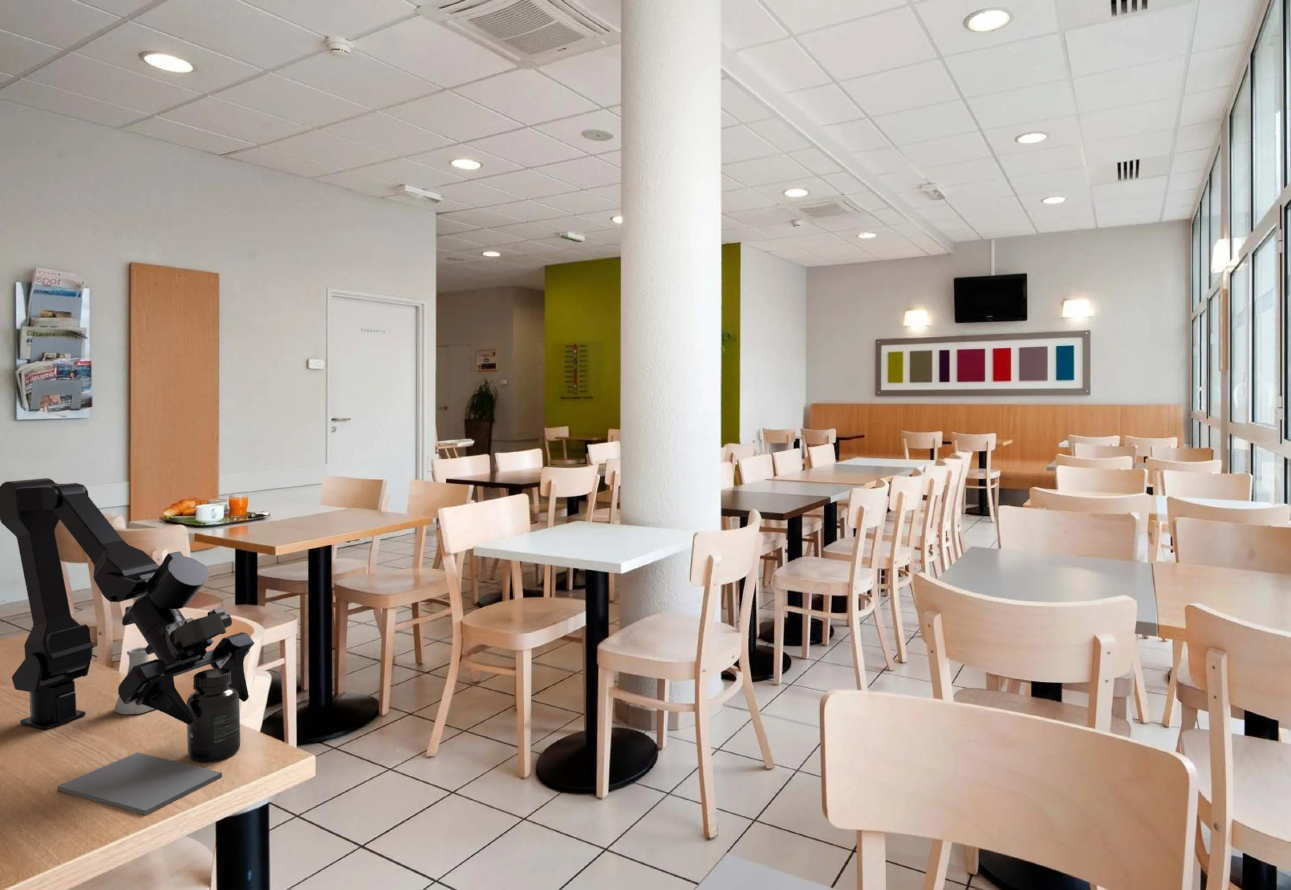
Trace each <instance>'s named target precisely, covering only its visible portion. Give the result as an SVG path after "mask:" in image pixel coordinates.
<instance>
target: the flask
mask: <svg viewBox="0 0 1291 890" xmlns="http://www.w3.org/2000/svg"><path fill="white" fill-rule="evenodd" d="M146 647H147V646H144V647H143V646H140V647H136V648H130V649H129V650H127V651H126V654H127V656H128V661H129V664H128V667H127V668H128V669H127V672H126V673H127V674H128V673H129V672H130V670H131V669H132V668H133V667H134V666H136V665H139V664H142V663H146V662H149V661H150V656H149V655H150V654H149V655H148V654H147V653H146V651H145V648H146ZM127 674H126V675H127ZM135 702H136V701H134V702H132V703H129V704H124V702H123V701H122V699H121V698H120V696H119V695H118V698H117V700H116V703H115V705H114V708H113V712H115V713H117V714H121V715H137V714H138V715H139V714H144V713H147V712H151V711H153V710H155V709H153V708H151V707H148V706H146V705H138V706H137V705H136V704H135Z"/></svg>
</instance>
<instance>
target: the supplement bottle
mask: <svg viewBox="0 0 1291 890" xmlns="http://www.w3.org/2000/svg"><path fill="white" fill-rule="evenodd" d="M231 683H232V679H231V671H230V670H229V669H225V668H216V669H213V668H210V669H205V670H201V671H199V672H197V673H196V672H195V674H194V675H193V685H192V690H194V691H193V692H192V693H191V694H190V695H189V696H188V698H187V699H186V702H185V704H186V705H187V707H188V708H189V710H190V712H191V714H192V716H193V718H194V721H193V722H192V723H191V724H189V725H188V724H186V734H187V735H186V736H187V737H186V739H187V741H186V742H187V757H188V759H189V760H191V761H192V762H195V763H201V764H202V763H205V764H206V763H214V762H218V761H222V760H225V759H228V758H231V757H232V756H234V755H235V754H236V753H238V751H239V749H240V748H241V720H240V719H241V717H240V716H241V715H240V711H241V710H240V699H239V693H238V691H237V690H236V689H235V688H234V687H232V686H230V684H231ZM227 757H228V758H227Z"/></svg>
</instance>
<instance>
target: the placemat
mask: <svg viewBox="0 0 1291 890" xmlns="http://www.w3.org/2000/svg"><path fill="white" fill-rule="evenodd" d="M220 778H223V772H221V771H217V770H213V769H209V768H204V767H200V766H197V765H192V764H188V763H184V762H179V761H175V760H171V759H167V758H162V757H158V756H156V755H154V756H153V755H150V754H146V753H141V752H139V751H137V752H134V753H132V754H129V755H127V756H125V757H123V758H120V759H118V760H116V761H113V762H111V763H108V764H106V765H105V766H104V765H103V766H101V767H99V768H97V769H94V770H92V771H89V772H88V773H85V774H83V775H80V776H78V777H75V778H72V779H71V780H68V781H66V782H64V783H61V784H59V785H57V787H56V788H57V791H59V792H61V793H62V792H63V793H66V794H69V795H71V796H72V795H73V796H76V797H80V798H83V799H87V800H90V801H94V802H98V803H101V804H105V805H109V806H112V807H114V808H119V809H122V810H126V811H130V812H134V813H137V814H139V815H140V814H141V815H144V816H147V815H149V814H151V813H153V812H155V811H158V810H159V809H161V808H163V807H165V806H167V805H168V804H169V805H170V804H171V803H173V802H175V801H177V800H179V799H181V798H183V797H185V796H187V795H189V794H191V793H193V792H195V791H197V790H198V789H201V788H202V787H205V786H206V785H208V784H211V783H212V782H215V781H216V780H218V779H219V780H220Z"/></svg>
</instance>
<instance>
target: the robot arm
mask: <svg viewBox="0 0 1291 890" xmlns="http://www.w3.org/2000/svg"><path fill="white" fill-rule="evenodd" d="M59 522H61V523H62V524H63V526H64V527H65V528H66V529H67V531H68V532H69V533H70V535H71V536H72V537H73V538H74V540H75V542H77V544H78V545H79V547H80V548H81V549H82V550H83V551H84V552H85V554H86V555H87V557H88V558H89V560H90V561H91V563H92V564H93V566H94V567H93V568H94V569H93V580H94V582H95V584H96V586H97V587H98V590H99V591H100V593H101V594H102V596H103V598H104V599H106V600H107V601H108V602H110V603H120V602H125V601H130V600H134V599H136V600H135V601H134V602H133V604H132V605H130V606H126V607H125V608H124V615H123V617H122V619H121V620H122V621H121V624H122V626H125V627H126V626H128V625H133V624H135V625H136V627H137V629H138V630H139V632H140V633H141V636H143V638H144V640H145V641H146V643H147V646H145V647H146V648H145V651H146V653H147V654H148V655H153V654H154V656H155V657H156V659H151V660H149V662H146V663H142V664H139V665H136V666H134V667H133V668H132V669H131V670H130V672H129V673H128V672H127V673H128V674H126V676H125V677H124V678H123V679H122V681H121V682H120V683H119V685H118V689H117V693H118V697H119V696H120V698H121V699H122V701H123V702H124V704H129V703H132V702H134V701H136V702H135V704H136V705H137V706H138V705H146V706H148V707H151V708H153V709H154V710H157V711H159V712H162V713H163V714H166V715H168V716H170V717H171V718H174V719H176V720H177V721H180V722H182V723H184V724H186V725H187V724H188V725H189V724H191V723H192V722H193V721H194V718H193V716H192V714H191V712H190V710H189V708H188V707H187V705H186V702H185V701H184V698H182V696H181V694H180V693H179V692H178V691H179V690H177V688H176V687H175V685H176V684H175V679H174V677H177V676H180V675H183V674H186V673H188V672H191V671H195V670H197V669H200V668H202V667H206V666H209V665H210V666H211V669H216V668H225V669H229V670H230V671H231V679H232V683H231V684H230V686H232V687H234V688H235V689H236V690H237V691H238V693H239V700H240V701H242V702H243V703H245V702H247V701H248V700H249V698H250V696H249V690H248V686H247V680H246V675H245V669H244V666H245V665H244V664H245V663H244V662H245V657H246V656H247V655H248V654H249V653H250V649H251V648H252V647H253V646H255V645H254V644H255V642H254V640H253V638H252V637H251V636H250V634H249V633H248V632H241V631H240V632H238V633H234V634H231V635H228V636H225V637H222V638H221V640H220V641H219V643H218V644H217V645H216V646H215V647H214V649H211V650H208V651H207V648H208V647H211V645H212V644H213V643H214V640H213V638H216V637H217V636H219V635H224V634H226V633H227V631H226V629H227V628H229V627H230V626H232V624H233V619H232V617H231V614H230V612H229V611H227V609H226V608H225V607H224V606H220V607H217V608H214V609H212V610H210V611H208V612H207V615H206V616H203V617H199V618H195V619H194V618H193V617H190V618H185V615H184V614H182V612H181V610H182V609H184V608H185V607H187V606H188V605H189V603H190V602H191V601H192V600H193V599H194V598H195V596H196V595H197V594H198V593H199V591H200V590H201V588H202V587H203V586H204V585H205V584H206V582H208V579H209V576H210V575H209V569H208V567H207V566H206V565H205V564H204V563H202V562H200V561H199V560H197V559H195V558H193V557H190V556H184V555H183V553H182V552H181V551H179V550H178V551H175V552H169V553H167V555H166V556H165V557H164V559H163V561H162V563H161V564H160V565H159V564H158V563H157V562H156V561H155V560H154V559H153V558H152V557H151V556H150V555H149V554H147V552H145V551H144V550H142V549H139V548H137V547H135V546H132V545H130V544H128V543H127V542H126V541H125V540H124V539H123V538H122V536H121V535H120V534H119V533H118V532H117V530H116V529H115V528H114V527H113V526H112V524H111V523H110V521H109V520H108V519H107V517H105V515H104V514H103V512H101V510H100V509H99V508H98V506H97V505H96V504H95V503H94V502H93V500H92V499H91V498H90V496H89V491H88V489H87V486H85V484H81V483H77V482H70V483H58V482H57V483H56V482H55V481H54V480H53V479H51V478H47V477H46V478H45V477H44V478H34V479H23V480H21V479H20V480H11V481H10V480H9V481H4V482H3V483H2V484H1V485H0V523H1V524H2V525H3V526H4V527H5V528H6V529H7V530H9V532H11V533H12V534H13V535H14V536H15V537H16V541H17V545H18V551H19V555H20V562H21V566H22V572H23V577H24V583H25V588H26V593H27V598H28V604H29V608H30V613H31V614H30V615H31V619H32V627H31V629H30V632H29V634H28V636H27V638H26V640H25V643H24V645H23V646H24V657H25V658H24V660H23V661H22V662H21V664H20V665H19V667H18V668H17V669H16V670H15V672H14V673H13V674H12V676H11V680H12V683H13V687H14V690H18V691H22V692H29V708H30V709H29V711H30V712H29V713H30V716H29V717H26V718H22V719H21V720H20V721H19V723H20V725H21V724H22V725H25V726H29V727H34V728H37V729H42V730H48V729H51V728H52V727H55V726H59V725H61V724H64V723H67V722H69V721H72V720H76V719H79V718H81V717H83V716H85V715H87V713H86V711H83V710H80V709H77V697H76V695H77V693H76V683H75V682H76V681H75V680H76V679H79V678H82V677H86V676H88V674H89V670H90V666H91V662H92V659H93V651H94V650H93V648H95V646H94V645H93V643H92V639H91V631H90V627H89V626H88V624H86V623H84V624H80V623H79V622H77V620H76V619H74V618H73V616H72V614H71V608H70V605H69V604H70V603H69V598H68V594H67V593H68V592H67V588H66V583H65V577H64V572H63V566H62V561H61V556H60V551H59V545H58V540H57V536H56V528H57V526H58V525H59ZM180 609H181V610H180Z"/></svg>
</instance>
